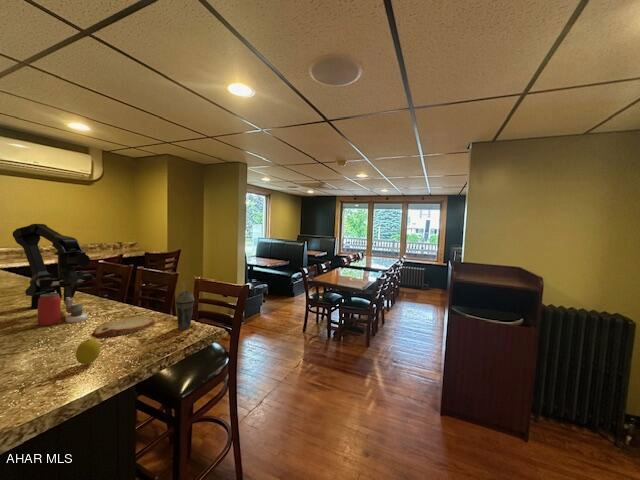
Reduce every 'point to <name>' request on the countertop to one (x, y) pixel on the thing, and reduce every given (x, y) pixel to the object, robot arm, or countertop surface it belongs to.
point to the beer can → (49, 309)
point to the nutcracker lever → (71, 303)
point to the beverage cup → (184, 309)
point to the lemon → (87, 352)
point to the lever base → (76, 318)
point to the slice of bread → (123, 326)
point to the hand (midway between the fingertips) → (66, 297)
